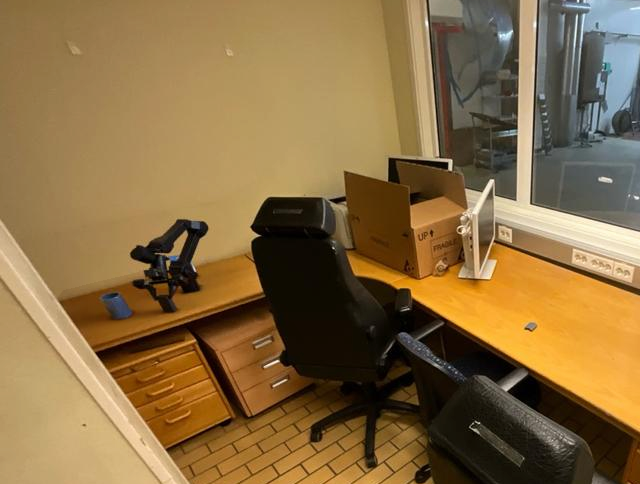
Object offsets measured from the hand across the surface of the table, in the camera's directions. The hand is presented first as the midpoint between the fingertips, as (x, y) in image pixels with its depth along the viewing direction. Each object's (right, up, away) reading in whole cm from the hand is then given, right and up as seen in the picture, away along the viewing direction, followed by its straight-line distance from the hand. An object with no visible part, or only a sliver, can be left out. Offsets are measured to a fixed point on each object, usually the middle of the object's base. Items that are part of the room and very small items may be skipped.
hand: (163, 299), depth 175 cm
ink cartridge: (-1, -5, +5) cm, 7 cm away
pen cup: (-19, -7, +1) cm, 20 cm away
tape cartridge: (-14, +15, +32) cm, 38 cm away
